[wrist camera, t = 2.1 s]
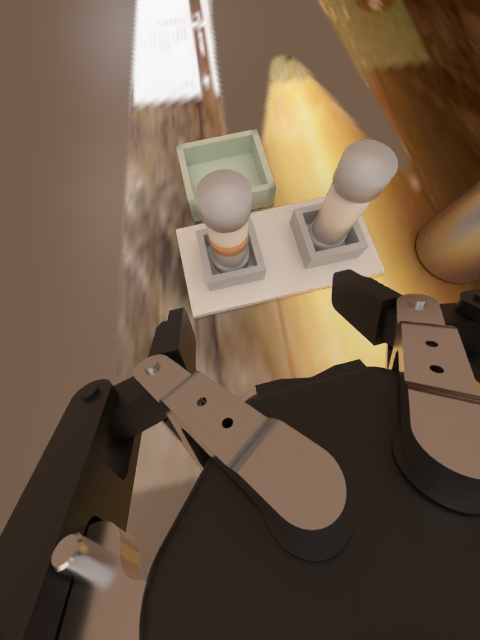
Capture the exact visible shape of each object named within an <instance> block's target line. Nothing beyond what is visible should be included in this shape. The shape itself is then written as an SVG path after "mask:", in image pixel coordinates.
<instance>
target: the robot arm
mask: <svg viewBox="0 0 480 640" xmlns="http://www.w3.org/2000/svg"><path fill="white" fill-rule="evenodd" d="M416 251H417V254H418V257H419V259H420V261H421V262H422V264H423V265H424V267H425V268H426V269H427V270H428V271H429V272H431V273H432V274H433V275H434V276H436V277H438V278H440V279H442V280H444V281H447V282H451V283H468V282H472V281H475V280H477V279H480V181H479V182H478V183H477V184H476V185H474V186H473V187H472V188H471V189H469V190H468V191H467V192H466V193H464V194H463V195H462V196H461V197H460V198H458V199H457V200H456V201H455V202H453V203H452V204H451V205H450V206H448V207H447V208H446V209H445V210H443V211H442V212H441V213H440V214H438V215H437V216H436V217H435V218H434V219H432V220H431V221H430V222H429V223H427V224H426V225H425V226H424V227H423V228H422V229H421V230H420V232H419V234H418V236H417V239H416ZM332 304H333V307H334V309H335V310H336V311H337V312H338V313H339V314H341V315H342V316H343V317H344V318H345V319H346V320H347V321H348V322H349V323H350V324H351V325H352V326H354V327H355V328H356V329H357V330H358V331H359V332H360V333H361V334H362V335H363V336H364V337H365V338H367V339H368V340H369V341H370V342H371V343H372V344H373V345H378V344H382V343H387V347H386V365H385V368H381V367H366V366H365V365H364V364H363V362H362V361H361V360H360V359H359V360H355V361H351V362H347V363H343V364H339V365H335V366H333V367H331V368H329V369H327V370H325V371H323V372H321V373H319V374H317V375H315V376H313V377H310V378H293V379H279V380H275V381H271V382H267V383H263V384H259V385H255V387H256V392H257V394H256V395H254V396H252V397H251V398H249V399H248V400H246V401H245V402H244V401H242V400H241V399H239V398H238V397H236V396H235V395H233V394H232V393H231V392H229V391H228V390H226V389H225V388H223V387H222V386H220V385H219V384H217V383H216V382H215V381H213V380H212V379H210V378H209V377H207V376H206V375H204V374H203V373H201V372H200V371H196V340H195V335H194V332H193V329H192V326H191V323H190V320H189V317H188V315H187V312H186V309H185V308H184V307H183V308H179V309H175V310H170V311H169V316H168V320H167V321H164V322H162V323H161V324H160V325H159V326H158V327H157V328H156V331H155V336H154V338H153V342H152V345H151V349H150V352H149V356H148V358H146V359H144V360H143V361H141V362H140V363H139V364H138V365H137V366H136V368H135V370H134V372H133V375H134V376H133V377H131V378H129V379H127V380H125V381H123V382H121V383H119V384H116V385H114V386H113V385H112V384H111V382H110V381H109V380H106V379H102V380H96V381H93V382H91V383H89V384H87V385H86V386H84V387H83V388H81V389H80V390H79V391H78V392H77V393H76V394H75V395H74V396H73V398H72V399H71V401H70V403H69V405H68V407H67V408H66V410H65V413H64V414H63V416H62V418H61V420H60V422H59V424H58V426H57V428H56V430H55V432H54V434H53V436H52V437H51V439H50V441H49V443H48V445H47V447H46V450H45V451H44V453H43V455H42V457H41V459H40V461H39V463H38V465H37V466H36V469H35V470H34V473H33V474H32V476H31V478H30V480H29V482H28V484H27V486H26V488H25V490H24V492H23V493H22V495H21V498H20V499H19V501H18V503H17V505H16V507H15V509H14V511H13V513H12V515H11V517H10V519H9V521H8V522H7V525H6V526H5V528H4V530H3V532H2V534H1V536H0V640H480V392H479V389H478V386H477V384H476V381H478V382H479V383H480V290H469V291H464V292H462V293H461V294H460V296H459V298H458V301H457V303H447V304H439V302H438V301H437V300H436V299H434V298H432V297H429V296H426V295H421V294H406V295H401V294H399V293H397V292H395V291H394V290H392V289H390V288H388V287H386V286H384V285H383V284H381V283H378V282H377V281H375V280H374V279H372V278H369V277H365V276H362V275H360V274H358V273H356V272H355V271H353V270H351V269H347V270H343V271H338V272H335V273H334V274H333V281H332ZM475 380H476V381H475ZM159 422H162V423H163V424H164V425H165V426H166V427H167V429H168V430H169V431H170V432H171V433H172V434H173V435H174V436H175V438H176V439H177V440H178V441H179V442H180V443H181V444H182V446H183V447H184V448H185V449H186V450H187V452H188V453H189V454H190V456H191V457H192V459H193V460H194V461H195V463H196V464H197V465H198V466H199V468H200V469H201V470H202V472H201V474H200V476H199V478H198V479H197V481H196V483H195V485H194V487H193V489H192V490H191V492H190V494H189V496H188V498H187V500H186V501H185V503H184V505H183V507H182V508H181V510H180V512H179V514H178V516H177V517H176V519H175V521H174V523H173V525H172V527H171V529H170V530H169V532H168V534H167V536H166V537H165V539H164V541H163V543H162V545H161V547H160V548H159V550H158V552H157V554H156V557H155V559H154V561H153V564H152V566H151V569H150V572H149V575H148V578H147V580H146V581H143V580H142V578H141V574H140V569H139V549H138V545H137V543H136V541H135V540H134V539H133V538H132V537H131V536H130V535H128V534H126V527H127V521H128V515H129V508H130V502H131V496H132V490H133V484H134V477H135V471H136V465H137V459H138V453H139V447H140V440H141V434H142V432H143V431H144V430H146V429H148V428H150V427H152V426H153V425H155V424H157V423H159Z"/></svg>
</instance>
